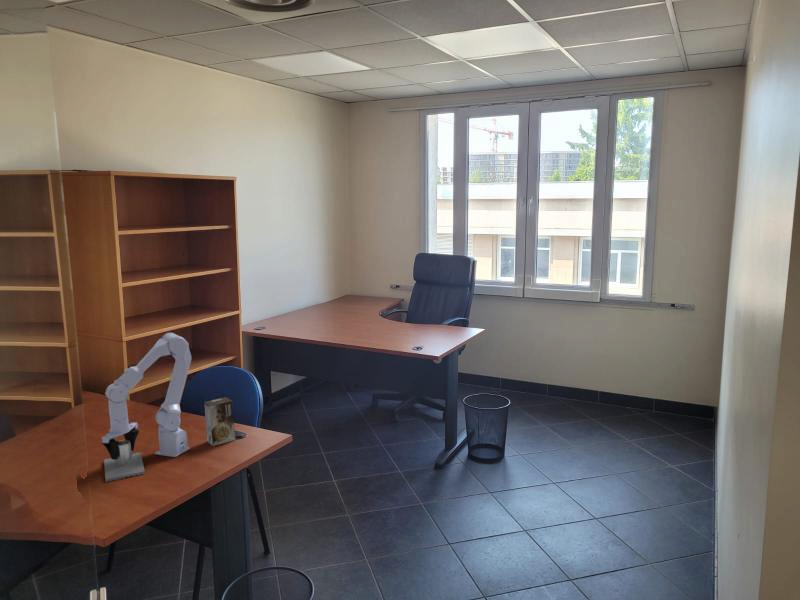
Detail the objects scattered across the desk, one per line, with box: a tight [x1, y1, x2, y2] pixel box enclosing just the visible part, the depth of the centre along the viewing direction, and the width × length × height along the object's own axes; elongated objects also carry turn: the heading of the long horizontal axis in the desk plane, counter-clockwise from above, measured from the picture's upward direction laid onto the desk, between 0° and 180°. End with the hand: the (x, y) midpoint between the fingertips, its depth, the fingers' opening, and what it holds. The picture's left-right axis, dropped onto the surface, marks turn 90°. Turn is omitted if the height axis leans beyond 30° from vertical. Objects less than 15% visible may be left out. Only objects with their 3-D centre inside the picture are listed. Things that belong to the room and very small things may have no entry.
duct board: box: [103, 451, 146, 483], centre depth 203 cm, size 12×18×4 cm, turn 28°
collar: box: [114, 439, 133, 465], centre depth 205 cm, size 6×6×7 cm
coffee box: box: [203, 396, 236, 447], centre depth 224 cm, size 9×6×16 cm
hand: (122, 454), depth 205 cm, fingers open, 7 cm apart
